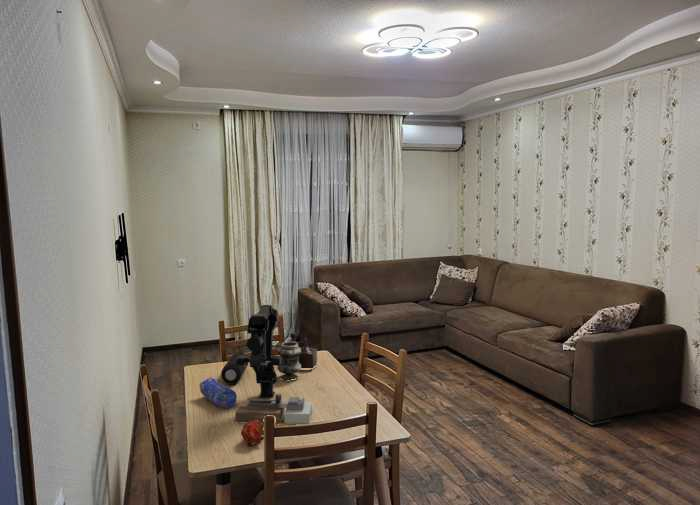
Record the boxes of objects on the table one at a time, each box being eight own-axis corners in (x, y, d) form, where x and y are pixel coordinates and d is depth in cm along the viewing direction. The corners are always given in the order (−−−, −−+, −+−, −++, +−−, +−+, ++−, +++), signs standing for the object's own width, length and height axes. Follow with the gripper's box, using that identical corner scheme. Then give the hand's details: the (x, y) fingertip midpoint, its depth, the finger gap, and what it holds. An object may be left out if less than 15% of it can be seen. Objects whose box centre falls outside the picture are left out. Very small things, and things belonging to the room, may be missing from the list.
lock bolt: (270, 408, 211) (270, 396, 210) (271, 405, 213) (271, 394, 213) (299, 408, 210) (299, 396, 210) (300, 406, 213) (300, 394, 212)
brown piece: (318, 364, 282) (317, 332, 280) (312, 371, 271) (312, 337, 269) (291, 362, 285) (290, 331, 283) (284, 369, 274) (284, 336, 272)
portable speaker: (240, 385, 249) (240, 365, 248) (220, 385, 249) (219, 365, 248) (249, 369, 275) (249, 350, 274) (231, 369, 275) (230, 351, 274)
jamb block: (289, 411, 218) (288, 394, 217) (312, 411, 218) (312, 394, 217) (284, 423, 206) (284, 405, 206) (309, 423, 206) (309, 405, 205)
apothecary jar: (297, 382, 253) (297, 347, 252) (274, 381, 255) (274, 346, 253) (303, 374, 265) (303, 340, 263) (281, 373, 267) (281, 339, 265)
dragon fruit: (258, 438, 197) (252, 457, 185) (239, 426, 195) (233, 445, 184) (270, 422, 195) (266, 440, 183) (252, 410, 194) (246, 428, 182)
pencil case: (198, 397, 234) (198, 377, 233) (216, 393, 239) (216, 373, 238) (219, 412, 217) (219, 391, 216) (238, 407, 222) (237, 386, 221)
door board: (242, 410, 219) (242, 396, 218) (284, 411, 218) (284, 396, 218) (235, 422, 207) (235, 407, 206) (279, 423, 206) (279, 408, 206)
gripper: (232, 349, 210) (232, 386, 212) (277, 349, 210) (277, 386, 211) (238, 342, 221) (239, 377, 223) (281, 342, 221) (282, 377, 222)
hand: (259, 379), depth 219 cm, fingers closed
